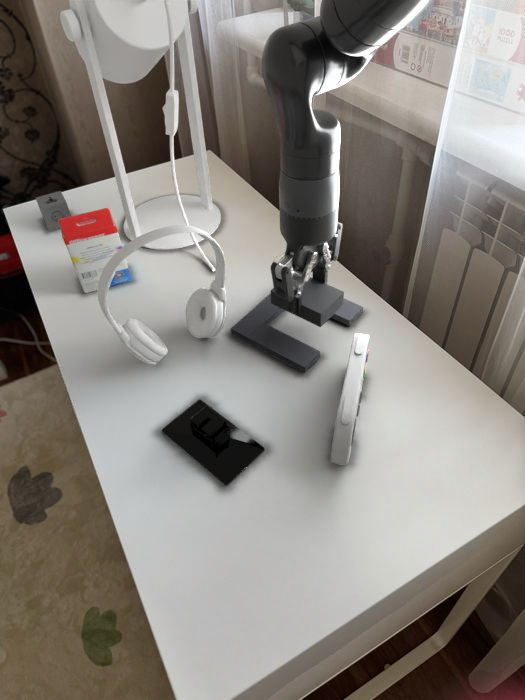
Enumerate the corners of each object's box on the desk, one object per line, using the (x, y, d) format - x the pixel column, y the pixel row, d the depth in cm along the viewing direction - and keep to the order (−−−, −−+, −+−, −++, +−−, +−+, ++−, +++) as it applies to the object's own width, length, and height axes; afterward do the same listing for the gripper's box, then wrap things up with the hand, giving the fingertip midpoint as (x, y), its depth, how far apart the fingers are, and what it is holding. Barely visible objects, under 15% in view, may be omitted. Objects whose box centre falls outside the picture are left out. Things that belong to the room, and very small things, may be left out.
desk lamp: (187, 180, 118) (146, -79, 86) (271, 246, 99) (258, -54, 67) (98, 212, 110) (16, -59, 78) (171, 291, 91) (102, -25, 59)
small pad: (294, 283, 84) (294, 269, 82) (343, 305, 80) (344, 291, 78) (270, 303, 81) (270, 290, 79) (320, 327, 77) (321, 314, 75)
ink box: (127, 266, 97) (106, 193, 86) (132, 281, 94) (111, 207, 83) (79, 278, 95) (52, 205, 85) (83, 294, 92) (55, 220, 81)
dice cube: (49, 231, 106) (40, 209, 103) (44, 219, 109) (35, 197, 106) (74, 224, 108) (66, 201, 104) (68, 212, 111) (60, 190, 107)
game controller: (347, 478, 65) (352, 439, 59) (329, 475, 65) (332, 435, 59) (367, 363, 78) (373, 321, 72) (352, 360, 78) (356, 319, 72)
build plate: (161, 432, 71) (154, 410, 68) (201, 399, 75) (196, 377, 71) (226, 487, 65) (222, 466, 62) (267, 448, 68) (265, 426, 65)
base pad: (362, 312, 85) (363, 306, 84) (304, 373, 77) (304, 367, 76) (291, 280, 92) (291, 275, 91) (231, 334, 83) (230, 328, 82)
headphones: (114, 356, 81) (75, 246, 67) (219, 308, 88) (203, 199, 73) (133, 385, 77) (95, 275, 62) (242, 333, 83) (230, 222, 69)
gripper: (300, 236, 62) (299, 338, 74) (364, 183, 70) (354, 284, 82) (250, 216, 65) (257, 317, 78) (316, 168, 73) (313, 267, 85)
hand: (307, 300), depth 80 cm, fingers closed on small pad, 6 cm apart
